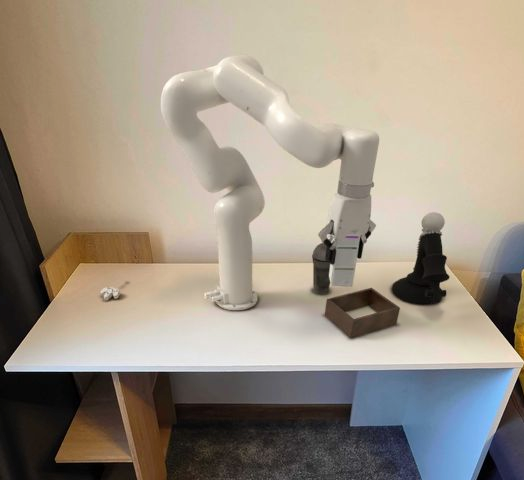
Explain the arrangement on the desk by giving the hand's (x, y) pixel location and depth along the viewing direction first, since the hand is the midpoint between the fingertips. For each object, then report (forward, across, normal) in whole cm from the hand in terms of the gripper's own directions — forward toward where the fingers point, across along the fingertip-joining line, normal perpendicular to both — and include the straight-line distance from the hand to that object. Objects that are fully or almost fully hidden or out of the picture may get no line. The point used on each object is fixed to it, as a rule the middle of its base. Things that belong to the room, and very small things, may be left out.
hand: (343, 259), depth 115 cm
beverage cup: (+20, -7, -17) cm, 27 cm away
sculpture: (+19, -31, +1) cm, 37 cm away
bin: (+19, -8, +2) cm, 21 cm away
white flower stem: (+21, +50, -44) cm, 69 cm away
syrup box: (+7, 0, 0) cm, 7 cm away
